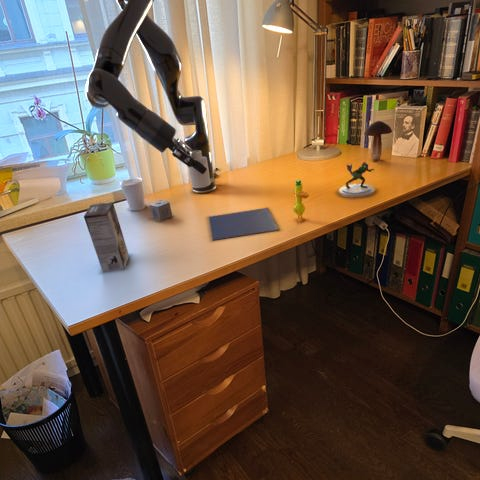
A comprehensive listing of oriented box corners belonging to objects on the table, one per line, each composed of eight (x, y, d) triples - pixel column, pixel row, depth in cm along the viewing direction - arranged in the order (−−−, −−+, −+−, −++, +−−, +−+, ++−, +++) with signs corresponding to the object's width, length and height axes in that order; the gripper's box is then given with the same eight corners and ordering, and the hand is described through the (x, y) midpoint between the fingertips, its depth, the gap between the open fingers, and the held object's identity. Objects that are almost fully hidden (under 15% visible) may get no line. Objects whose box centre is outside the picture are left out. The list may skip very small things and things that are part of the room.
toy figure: (312, 221, 126) (312, 181, 119) (303, 224, 124) (302, 184, 117) (299, 216, 131) (297, 177, 124) (290, 219, 129) (288, 180, 122)
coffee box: (107, 258, 120) (90, 204, 111) (129, 255, 120) (113, 201, 111) (101, 272, 112) (82, 216, 103) (125, 269, 112) (107, 212, 103)
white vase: (191, 183, 126) (185, 151, 121) (210, 180, 126) (205, 148, 121) (191, 189, 121) (185, 155, 116) (211, 186, 122) (206, 152, 116)
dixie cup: (153, 205, 156) (146, 179, 150) (135, 213, 151) (127, 185, 146) (140, 202, 161) (133, 176, 155) (122, 209, 156) (115, 183, 151)
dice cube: (164, 213, 147) (161, 200, 144) (172, 216, 144) (169, 202, 141) (152, 218, 144) (149, 204, 141) (160, 221, 141) (157, 206, 138)
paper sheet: (209, 217, 139) (208, 216, 139) (267, 208, 139) (267, 207, 139) (212, 240, 122) (212, 239, 122) (279, 230, 123) (279, 229, 123)
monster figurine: (360, 199, 136) (362, 167, 130) (331, 194, 144) (332, 163, 138) (381, 189, 142) (384, 158, 136) (352, 184, 150) (353, 155, 144)
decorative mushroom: (363, 164, 170) (365, 124, 161) (361, 157, 178) (363, 119, 170) (391, 162, 167) (394, 122, 159) (387, 155, 176) (391, 117, 168)
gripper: (161, 123, 107) (213, 164, 114) (163, 115, 119) (210, 152, 126) (146, 147, 110) (198, 186, 117) (149, 137, 122) (196, 172, 129)
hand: (204, 168), depth 121 cm, fingers closed on white vase, 5 cm apart
